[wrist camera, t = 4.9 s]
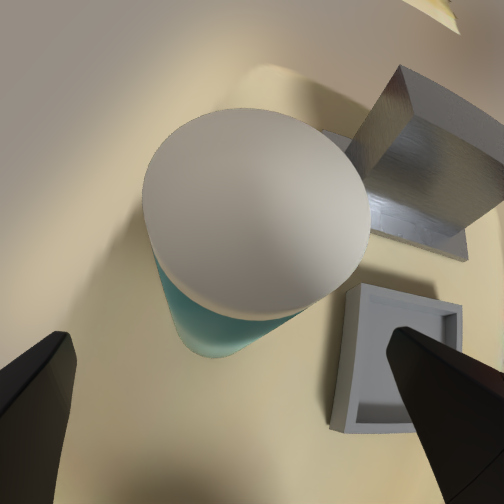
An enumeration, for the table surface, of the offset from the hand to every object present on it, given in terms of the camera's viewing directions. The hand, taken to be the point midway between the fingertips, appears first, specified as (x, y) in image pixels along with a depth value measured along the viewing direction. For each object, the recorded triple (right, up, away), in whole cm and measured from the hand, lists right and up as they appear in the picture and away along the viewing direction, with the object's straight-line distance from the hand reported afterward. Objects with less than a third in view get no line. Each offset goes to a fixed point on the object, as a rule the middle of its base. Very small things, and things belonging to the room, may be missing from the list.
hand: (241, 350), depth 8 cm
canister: (-2, -1, +10) cm, 10 cm away
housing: (+12, +7, +16) cm, 21 cm away
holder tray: (+10, -5, +10) cm, 15 cm away
